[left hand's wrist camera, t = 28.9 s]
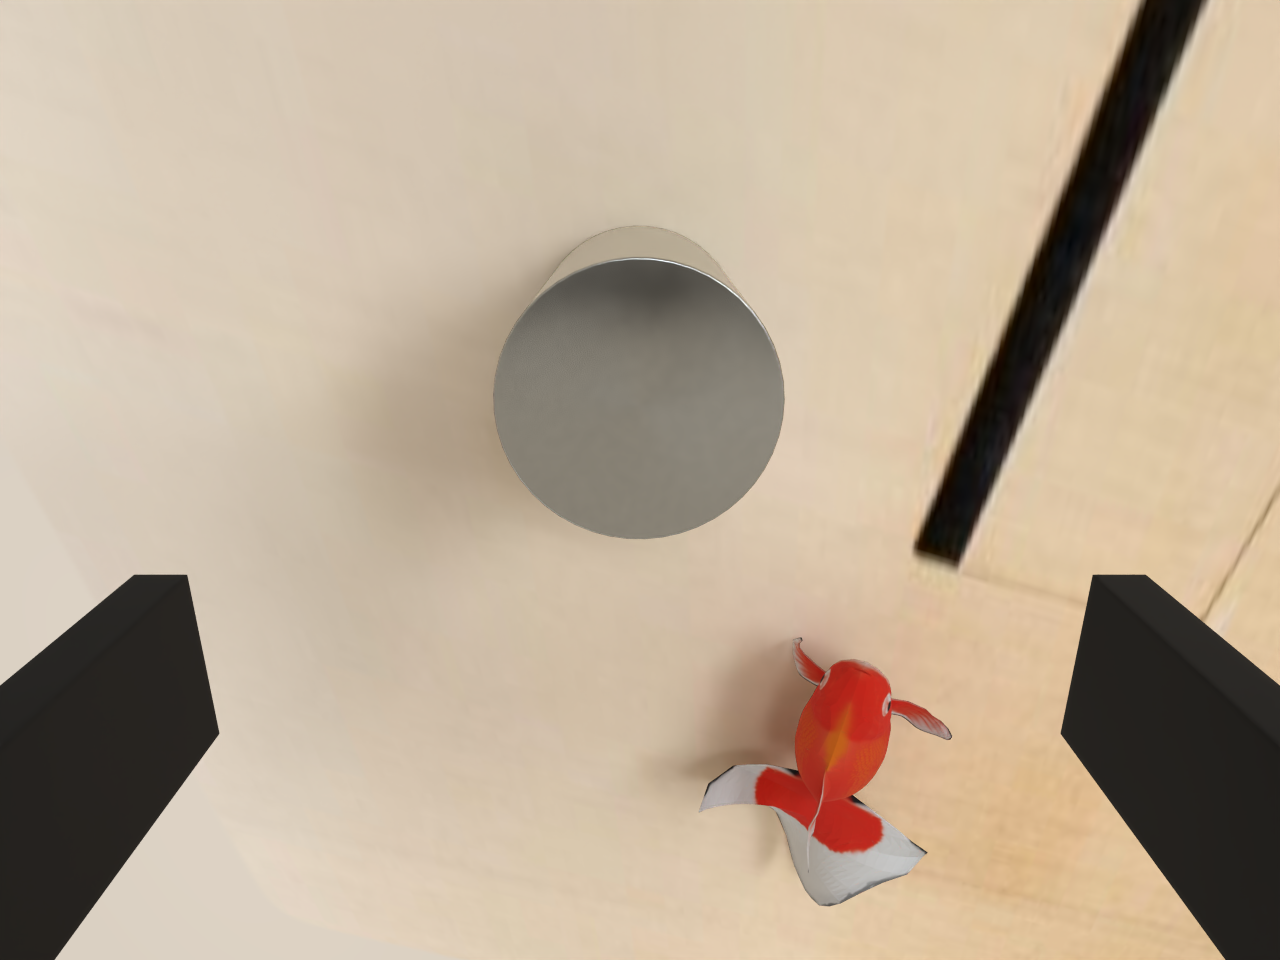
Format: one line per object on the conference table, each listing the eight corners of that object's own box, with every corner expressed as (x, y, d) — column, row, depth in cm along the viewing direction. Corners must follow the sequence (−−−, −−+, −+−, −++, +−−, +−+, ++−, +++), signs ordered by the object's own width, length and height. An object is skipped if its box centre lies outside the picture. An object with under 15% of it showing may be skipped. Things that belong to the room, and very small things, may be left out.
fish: (1052, 699, 39) (1017, 892, 32) (881, 828, 50) (827, 994, 43) (846, 568, 41) (769, 725, 34) (723, 721, 51) (645, 864, 44)
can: (518, 246, 37) (461, 286, 25) (723, 208, 36) (764, 231, 24) (561, 440, 40) (528, 559, 28) (751, 408, 39) (800, 515, 27)
